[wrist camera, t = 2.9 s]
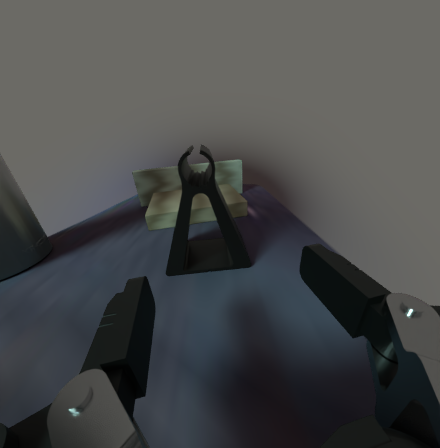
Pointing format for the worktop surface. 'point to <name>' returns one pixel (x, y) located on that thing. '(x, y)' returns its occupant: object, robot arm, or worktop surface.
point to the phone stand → (212, 248)
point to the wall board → (172, 189)
